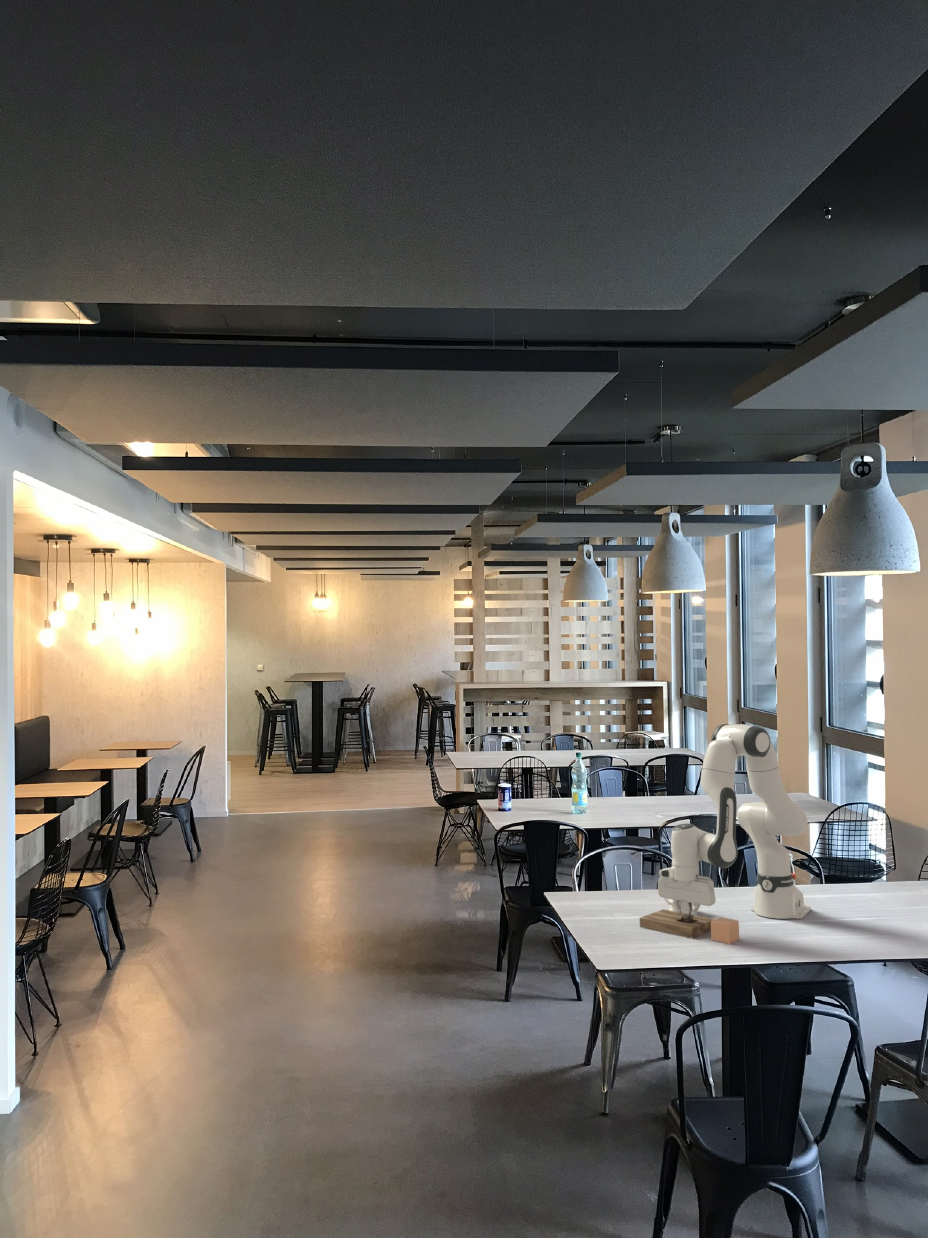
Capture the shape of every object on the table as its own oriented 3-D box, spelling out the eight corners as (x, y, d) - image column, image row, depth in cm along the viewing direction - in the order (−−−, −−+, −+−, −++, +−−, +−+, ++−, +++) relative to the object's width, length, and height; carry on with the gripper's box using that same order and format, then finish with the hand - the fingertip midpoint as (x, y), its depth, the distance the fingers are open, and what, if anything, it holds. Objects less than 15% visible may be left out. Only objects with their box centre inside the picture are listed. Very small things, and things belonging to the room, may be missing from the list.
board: (664, 918, 302) (663, 909, 303) (715, 928, 288) (714, 919, 288) (639, 926, 292) (639, 917, 292) (691, 938, 278) (691, 928, 278)
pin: (685, 921, 290) (684, 897, 291) (695, 923, 287) (694, 898, 288) (678, 923, 287) (678, 899, 288) (689, 925, 285) (688, 901, 285)
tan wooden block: (721, 935, 280) (720, 917, 280) (739, 939, 275) (738, 920, 276) (711, 940, 275) (710, 921, 276) (729, 944, 271) (728, 924, 271)
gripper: (718, 876, 284) (719, 918, 282) (664, 867, 298) (666, 908, 297) (708, 879, 279) (710, 922, 278) (654, 870, 294) (656, 911, 293)
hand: (687, 915), depth 288 cm, fingers closed on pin, 4 cm apart
